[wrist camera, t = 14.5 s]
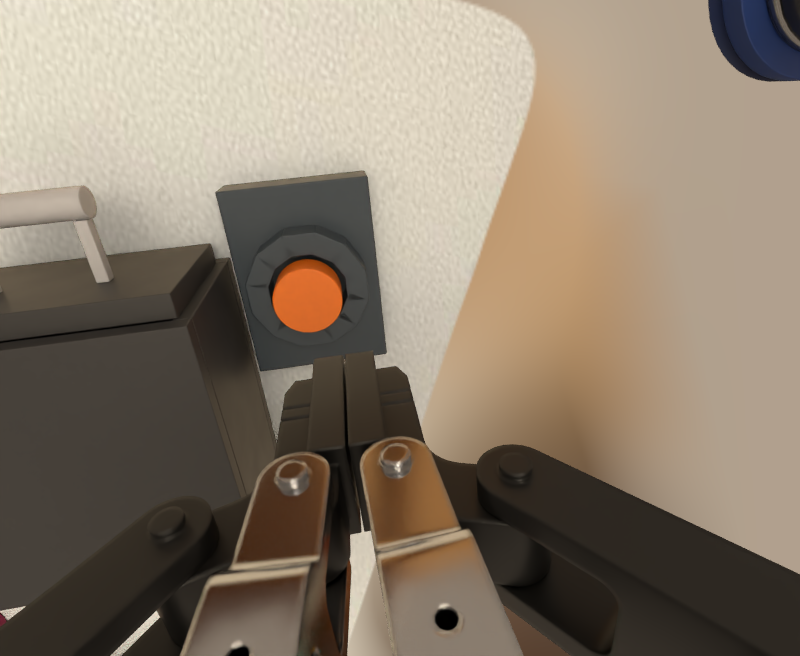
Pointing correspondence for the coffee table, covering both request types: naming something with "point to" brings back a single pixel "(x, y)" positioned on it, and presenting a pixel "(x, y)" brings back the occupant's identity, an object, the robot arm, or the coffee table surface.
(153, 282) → the dark box with handle
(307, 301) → the button
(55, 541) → the drawer cabinet
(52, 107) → the coffee table surface
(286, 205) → the control block
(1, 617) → the cup
